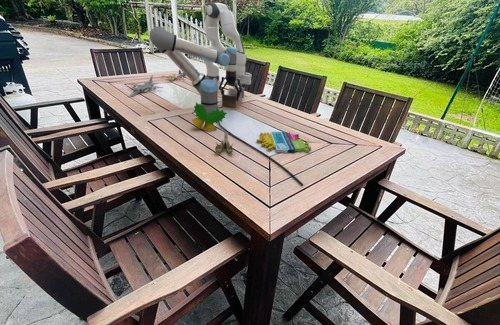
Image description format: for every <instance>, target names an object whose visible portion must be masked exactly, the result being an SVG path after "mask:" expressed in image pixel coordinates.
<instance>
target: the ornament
mask: <svg viewBox="0 0 500 325" xmlns="http://www.w3.org/2000/svg"><path fill="white" fill-rule="evenodd" d="M219 110H220V108H219V109H217V110H216V111H214V110H212V112H211V113H208V112H206V109H204V106H201V103H198V102H195V105H194V106H193V112H194V113H195V118H192V119H191V122H192V123H193V125H195V127H197V128H198V129H202V130H203V131H206V132H212V131H213V132H214V131H215V130H216V126H215V124H218V122H220V123H221V122H223V119H226V115H227V114H228V113H227V112H224V110H223V109H221V110H220V111H219ZM207 113H208V115H207ZM214 123H215V124H214Z"/></svg>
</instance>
